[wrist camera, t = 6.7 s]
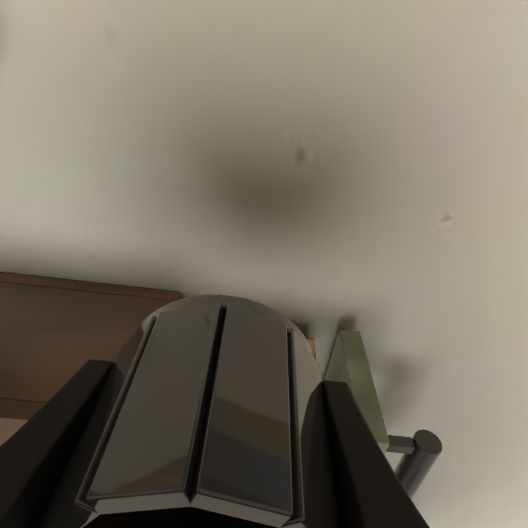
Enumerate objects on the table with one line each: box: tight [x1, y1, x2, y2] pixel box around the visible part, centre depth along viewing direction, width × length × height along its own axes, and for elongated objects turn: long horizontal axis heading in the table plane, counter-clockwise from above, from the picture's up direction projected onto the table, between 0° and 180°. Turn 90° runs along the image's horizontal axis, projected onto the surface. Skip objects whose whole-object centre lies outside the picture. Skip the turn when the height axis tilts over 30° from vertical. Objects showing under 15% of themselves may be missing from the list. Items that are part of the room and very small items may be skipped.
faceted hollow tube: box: [37, 295, 341, 528], centre depth 9 cm, size 6×6×5 cm
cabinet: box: [0, 272, 180, 446], centre depth 21 cm, size 15×14×9 cm
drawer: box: [307, 329, 442, 499], centre depth 22 cm, size 18×12×7 cm
